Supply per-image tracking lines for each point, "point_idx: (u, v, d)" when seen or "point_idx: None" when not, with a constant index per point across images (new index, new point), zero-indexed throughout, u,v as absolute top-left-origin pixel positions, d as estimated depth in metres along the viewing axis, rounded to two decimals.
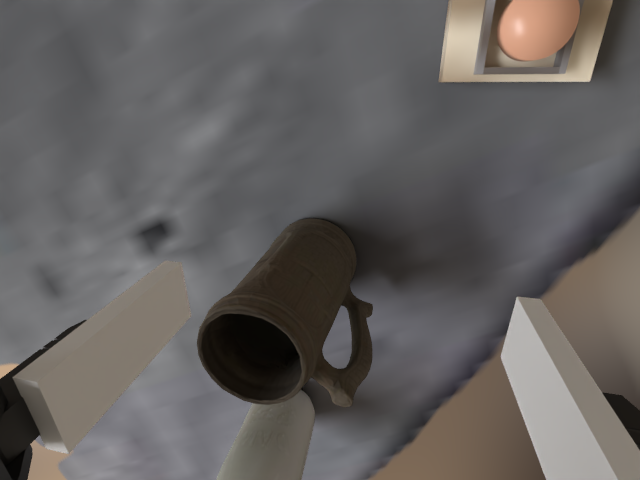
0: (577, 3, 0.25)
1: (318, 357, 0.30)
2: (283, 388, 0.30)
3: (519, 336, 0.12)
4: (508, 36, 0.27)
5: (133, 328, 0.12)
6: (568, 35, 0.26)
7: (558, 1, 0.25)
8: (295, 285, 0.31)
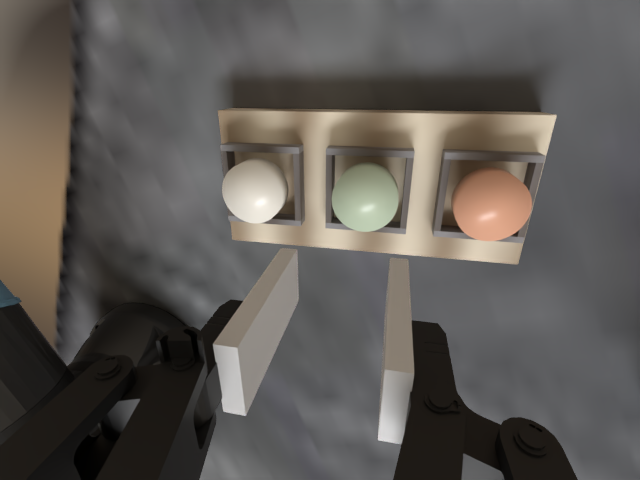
0: (481, 178, 0.24)
1: None
2: None
3: None
4: (500, 235, 0.25)
5: (275, 307, 0.13)
6: (512, 180, 0.24)
7: (476, 195, 0.25)
8: None
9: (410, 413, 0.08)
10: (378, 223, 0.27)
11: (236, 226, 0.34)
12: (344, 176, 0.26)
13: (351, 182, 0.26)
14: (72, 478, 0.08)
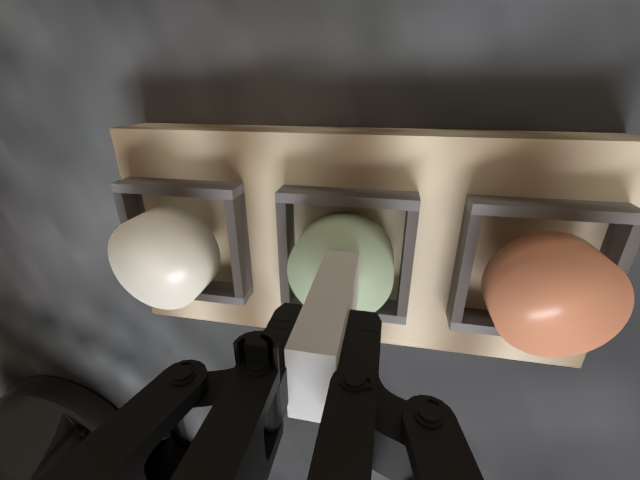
0: (544, 257, 0.13)
1: None
2: None
3: None
4: (569, 349, 0.15)
5: None
6: (601, 263, 0.13)
7: (531, 285, 0.14)
8: None
9: (327, 396, 0.09)
10: (362, 309, 0.17)
11: None
12: (305, 238, 0.16)
13: (317, 247, 0.16)
14: None
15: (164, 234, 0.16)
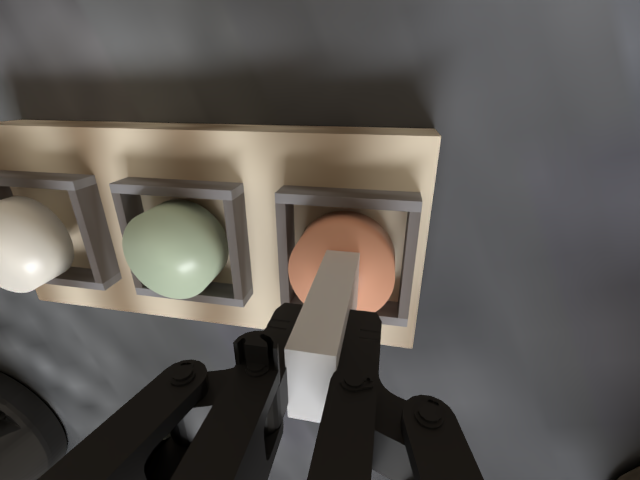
0: (317, 231, 0.16)
1: None
2: None
3: None
4: None
5: None
6: (361, 235, 0.15)
7: (314, 255, 0.16)
8: None
9: (327, 396, 0.09)
10: (192, 288, 0.18)
11: None
12: (132, 222, 0.18)
13: (143, 231, 0.18)
14: None
15: (1, 221, 0.18)
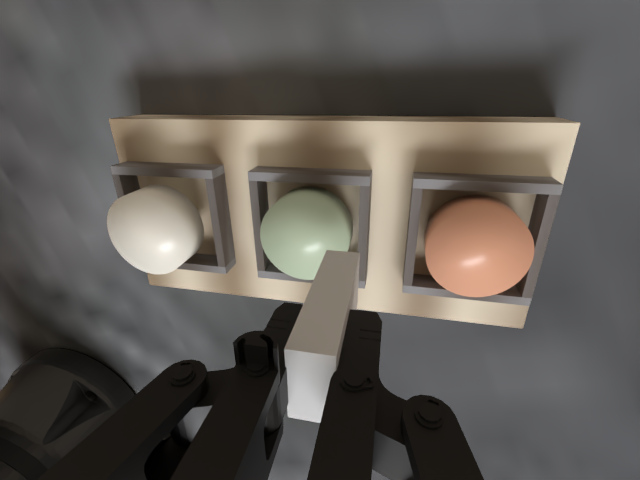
0: (461, 212, 0.17)
1: None
2: None
3: None
4: (489, 290, 0.18)
5: None
6: (506, 216, 0.16)
7: (454, 235, 0.17)
8: None
9: (327, 396, 0.09)
10: None
11: None
12: (273, 207, 0.19)
13: (283, 215, 0.19)
14: None
15: (153, 207, 0.19)
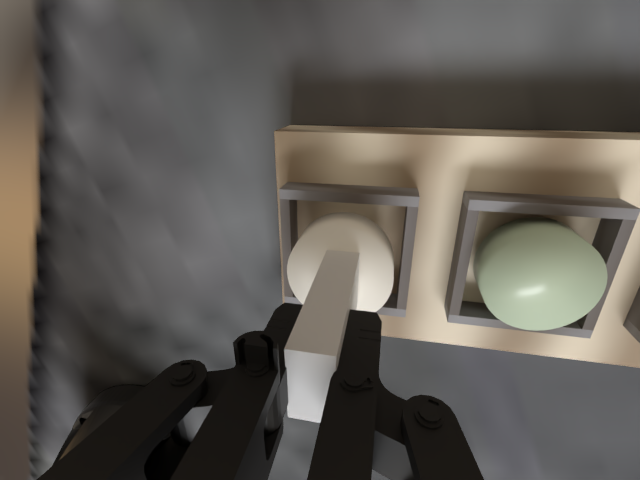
0: None
1: None
2: None
3: None
4: None
5: None
6: None
7: None
8: None
9: (327, 396, 0.09)
10: (559, 319, 0.16)
11: None
12: (513, 245, 0.15)
13: (524, 255, 0.15)
14: None
15: (360, 243, 0.15)
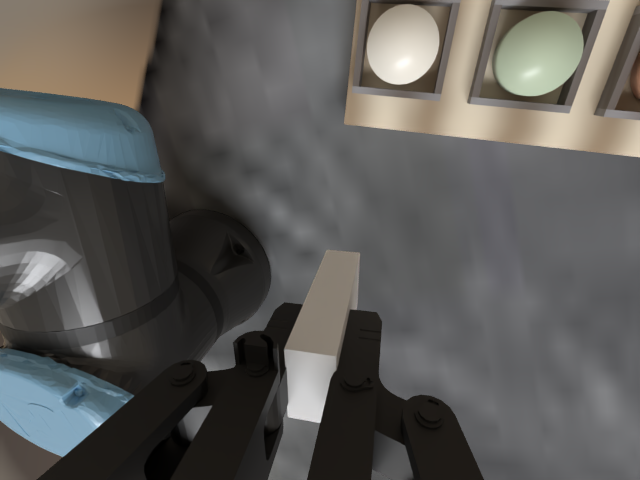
0: None
1: None
2: None
3: None
4: None
5: None
6: None
7: None
8: None
9: (327, 396, 0.09)
10: (549, 85, 0.24)
11: (352, 107, 0.30)
12: (522, 22, 0.23)
13: (529, 30, 0.23)
14: None
15: (420, 17, 0.24)
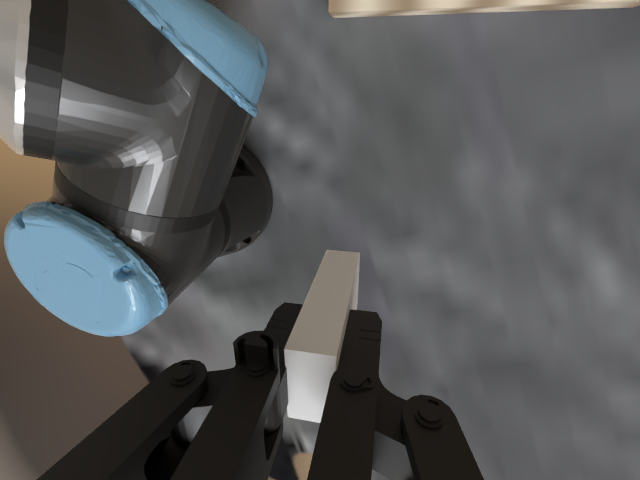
0: None
1: None
2: None
3: None
4: None
5: None
6: None
7: None
8: None
9: (327, 396, 0.09)
10: None
11: None
12: None
13: None
14: None
15: None
